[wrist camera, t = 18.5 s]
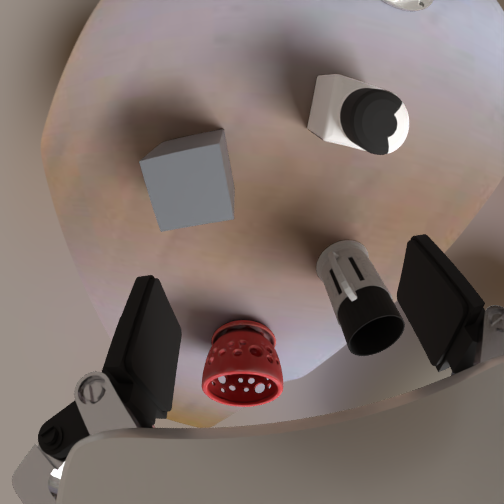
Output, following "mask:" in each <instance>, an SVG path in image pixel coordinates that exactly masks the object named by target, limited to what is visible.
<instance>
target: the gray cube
mask: <svg viewBox="0 0 504 504" xmlns="http://www.w3.org/2000/svg"><path fill="white" fill-rule="evenodd" d="M139 163H140V166H141V170H142V173H143V177H144V180H145V183H146V187H147V190H148V193H149V197H150V200H151V203H152V206H153V210H154V213H155V216H156V219H157V222H158V225H159V228H160V231H161V232H162V231H167V230H173V229H178V228H184V227H190V226H196V225H202V224H208V223H214V222H220V221H226V220H232V219H234V189H235V188H234V182H233V177H232V171H231V166H230V160H229V155H228V150H227V144H226V139H225V133H224V129H221V130H216V131H210V132H205V133H200V134H196V135H191V136H186V137H182V138H177V139H173V140H169V141H165V142H161V143H160V144H159V145H158V146H157V147H155V148H154V149H153V150H152V151H151V152H149V153H148V154H147V155H146V156H145V157H144V158H143V159H141V160H140V161H139Z"/></svg>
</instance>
